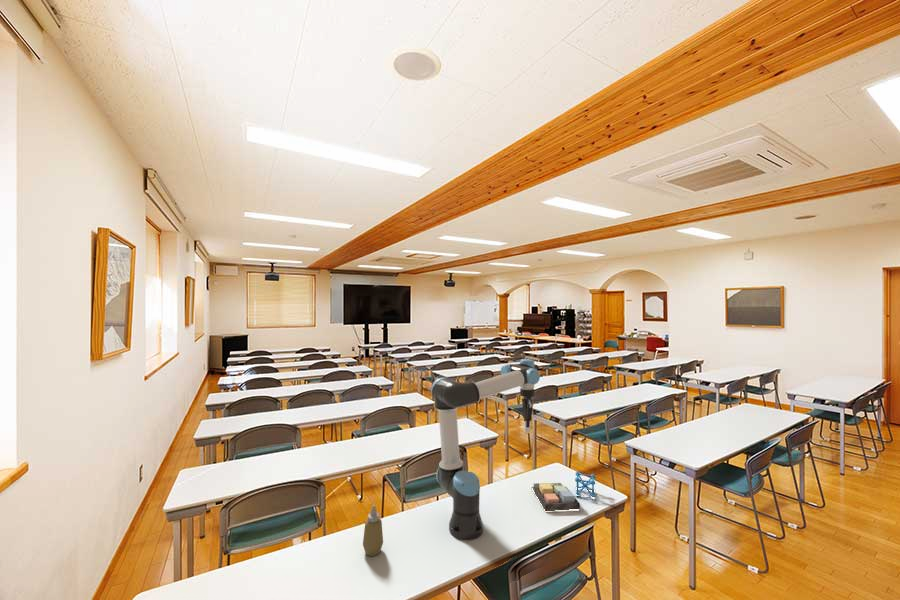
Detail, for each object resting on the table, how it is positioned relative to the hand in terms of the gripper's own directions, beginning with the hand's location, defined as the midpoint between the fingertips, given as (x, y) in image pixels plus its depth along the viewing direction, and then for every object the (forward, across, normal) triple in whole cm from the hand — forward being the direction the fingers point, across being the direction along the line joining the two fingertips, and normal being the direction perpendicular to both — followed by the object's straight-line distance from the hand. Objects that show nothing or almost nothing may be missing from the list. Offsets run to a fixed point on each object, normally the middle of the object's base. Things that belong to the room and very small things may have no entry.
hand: (527, 432), depth 195 cm
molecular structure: (+33, -2, -31) cm, 45 cm away
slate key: (+29, -14, -16) cm, 36 cm away
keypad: (+32, -6, -12) cm, 35 cm away
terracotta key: (+30, -13, -9) cm, 34 cm away
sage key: (+30, -5, -16) cm, 35 cm away
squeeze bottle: (+33, -43, +75) cm, 92 cm away
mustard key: (+29, -5, -8) cm, 30 cm away
